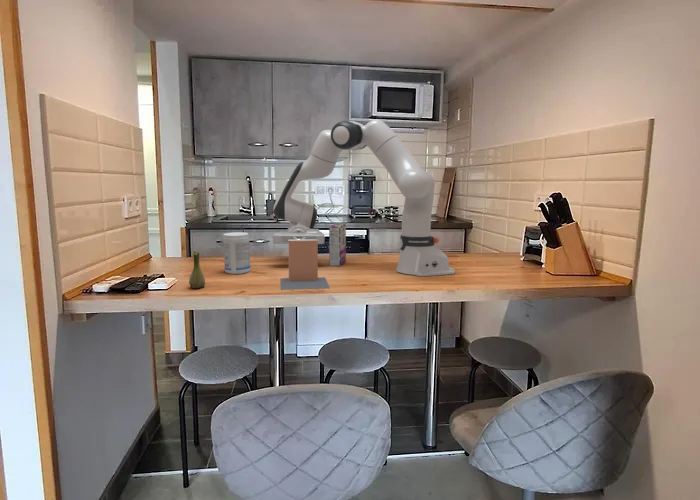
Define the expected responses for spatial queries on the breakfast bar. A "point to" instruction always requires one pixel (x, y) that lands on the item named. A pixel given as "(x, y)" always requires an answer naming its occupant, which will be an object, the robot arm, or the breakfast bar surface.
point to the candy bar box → (337, 244)
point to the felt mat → (304, 284)
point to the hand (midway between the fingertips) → (299, 241)
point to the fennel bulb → (197, 273)
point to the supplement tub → (236, 252)
